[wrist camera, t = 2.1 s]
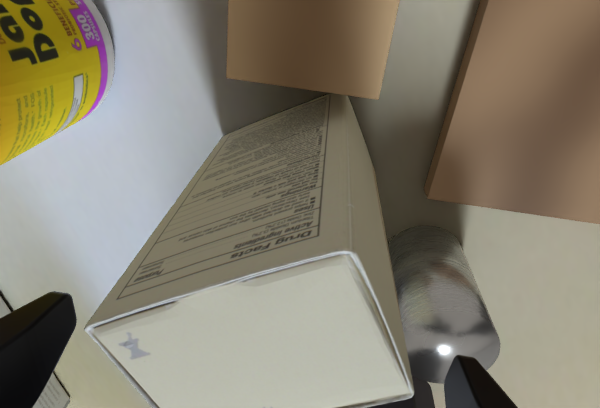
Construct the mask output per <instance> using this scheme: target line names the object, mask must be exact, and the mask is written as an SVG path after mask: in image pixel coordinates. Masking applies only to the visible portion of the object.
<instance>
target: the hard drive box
mask: <svg viewBox="0 0 600 408" xmlns="http://www.w3.org/2000/svg"><path fill="white" fill-rule="evenodd" d="M9 313H11V311H10V310H9V308H8V307H7V305H6V304H5V302H4V301H3V299H2V298H1V296H0V318H1V317H3V316H5V315H7V314H9ZM69 402H70V398H69V396H68V395H67V393H66V392H65V391H64V389H63V388H62V386H61V385H60V383H59V382H58V380H57V379H56V377H55V375H54V373H52V375H51V377H50V379H49V381H48V383H47V384H46V386H45V388H44V390H43V392H42V393H41V395H40V397H39V398H38V400H37V402H36V403H35V405H34V406H33V408H66V407H67V405H68V404H69Z"/></svg>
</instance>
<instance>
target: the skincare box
mask: <svg viewBox="0 0 600 408" xmlns="http://www.w3.org/2000/svg"><path fill="white" fill-rule="evenodd" d="M84 330H85V331H86V332H87V333H88V334H89V335H90V336H91V338H92V339H93V340H94V341H95V342H96V343H97V344H98V345H99V346H100V348H101V349H102V350H103V351H104V353H105V354H106V355H107V356H108V357H109V359H110V360H111V361H112V362H113V363H114V364H115V365H116V367H117V368H118V369H119V370H120V371H121V372H122V373H123V375H124V376H125V377H126V378H127V379H128V380H129V381H130V383H131V384H132V385H133V386H134V387H135V388H136V390H137V391H138V392H139V393H140V394H141V395H142V396H143V398H144V399H145V400H146V401H147V402H148V404H149V405H150V406H151V407H152V408H367V407H371V406H376V405H382V404H386V403H390V402H396V401H400V400H406V399H409V398H412V396H413V395H414V386H413V380H412V375H411V370H410V364H409V359H408V354H407V348H406V343H405V337H404V332H403V327H402V321H401V315H400V310H399V304H398V298H397V292H396V287H395V281H394V276H393V271H392V265H391V260H390V255H389V249H388V244H387V238H386V233H385V227H384V221H383V216H382V210H381V204H380V198H379V193H378V187H377V181H376V175H375V170H374V167H373V164H372V161H371V158H370V155H369V152H368V149H367V146H366V143H365V141H364V138H363V135H362V132H361V130H360V127H359V124H358V121H357V118H356V116H355V113H354V110H353V108H352V105H351V103H350V100H349V97H348V95H341V94H334V93H330V94H328V95H325V96H322V97H320V98H317V99H314V100H311V101H309V102H306V103H304V104H301V105H298V106H296V107H293V108H291V109H288V110H285V111H283V112H280V113H278V114H276V115H273V116H270V117H268V118H265V119H263V120H260V121H258V122H255V123H253V124H251V125H248V126H246V127H243V128H241V129H239V130H236V131H234V132H232V133H229V134H227V135H225V136H223V137H222V138H221V140H220V141H219V142H218V144H217V145H216V146H215V148H214V149H213V151H212V152H211V153H210V155H209V156H208V158H207V159H206V160H205V162H204V163H203V165H202V166H201V167H200V169H199V170H198V171H197V173H196V174H195V175H194V177H193V178H192V180H191V181H190V182H189V184H188V185H187V187H186V188H185V189H184V191H183V192H182V193H181V195H180V196H179V198H178V199H177V201H176V202H175V204H174V205H173V206H172V207H171V209H170V210H169V211H168V213H167V214H166V216H165V217H164V218H163V220H162V221H161V222H160V224H159V225H158V227H157V228H156V229H155V231H154V232H153V233H152V235H151V236H150V237H149V239H148V240H147V242H146V243H145V245H144V246H143V247H142V249H141V250H140V251H139V253H138V254H137V256H136V257H135V258H134V260H133V261H132V262H131V264H130V265H129V266H128V268H127V269H126V271H125V272H124V274H123V275H122V276H121V277H120V279H119V280H118V282H117V283H116V284H115V286H114V287H113V288H112V290H111V291H110V293H109V294H108V295H107V297H106V298H105V299H104V301H103V302H102V303H101V305H100V306H99V308H98V309H97V310H96V312H95V313H94V315H93V316H92V317H91V319H90V320H89V321H88V323H87V324H86V326H85V328H84Z"/></svg>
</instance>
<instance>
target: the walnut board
mask: <svg viewBox="0 0 600 408" xmlns="http://www.w3.org/2000/svg"><path fill="white" fill-rule="evenodd" d="M424 191H425V194H426V196H427V199H432V200H439V201H446V202H453V203H459V204H466V205H473V206H480V207H487V208H494V209H500V210H507V211H514V212H521V213H528V214H534V215H541V216H548V217H555V218H562V219H569V220H575V221H582V222H589V223H596V224H600V0H480V3H479V6H478V10H477V13H476V16H475V20H474V23H473V26H472V30H471V33H470V36H469V40H468V43H467V46H466V50H465V53H464V56H463V60H462V63H461V66H460V70H459V73H458V76H457V80H456V83H455V86H454V90H453V93H452V96H451V100H450V103H449V106H448V109H447V113H446V116H445V119H444V123H443V126H442V129H441V133H440V136H439V139H438V143H437V146H436V149H435V153H434V156H433V159H432V163H431V166H430V169H429V173H428V176H427V179H426V183H425V186H424Z"/></svg>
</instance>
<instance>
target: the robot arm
mask: <svg viewBox="0 0 600 408" xmlns="http://www.w3.org/2000/svg"><path fill="white" fill-rule="evenodd" d="M76 320H77V319H76V313H75V309H74V304H73V299H72V296H71V295H70V294H68V293H62V292H55V291H54V292H49V293H47V294H45V295H43V296H42V297H40V298H38V299H36V300H34V301H32V302H30V303H28V304H26V305H24V306H22V307H20V308H19V309H17V310H15V311H13V312H11V313H9V314H7V315H5V316H3V317H1V318H0V408H33V406H34V405H35V403H36V402H37V400H38V398H39V397H40V395H41V393H42V392H43V390H44V388H45V386H46V384H47V383H48V381H49V379H50V377H51V375H52V373H53V371H54V369H55V367H56V365H57V363H58V361H59V359H60V357H61V355H62V353H63V351H64V349H65V347H66V345H67V343H68V341H69V339H70V337H71V335H72V333H73V331H74V329H75V326H76ZM444 391H445V403H446V408H518V407H517V406H516V405H515V404H514V403H513V401H512V400H511V399H510V398H509V397H508V396H507V394H506V393H505V392H504V391H503V390H502V389H501V387H500V386H499V385H498V384H497V383H496V381H495V380H494V379H493V378H492V377H491V376H490V374H489V373H488V372H487V371H486V370H485V369H484V367H483V366H482V365H481V364H480V363H479V361H478V360H477V359H475V358H474V357H470V356H464V355H456V356H455V357H454V359H453V361H452V363H451V366H450V368H449V370H448V372H447V375H446V377H445V381H444Z"/></svg>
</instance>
